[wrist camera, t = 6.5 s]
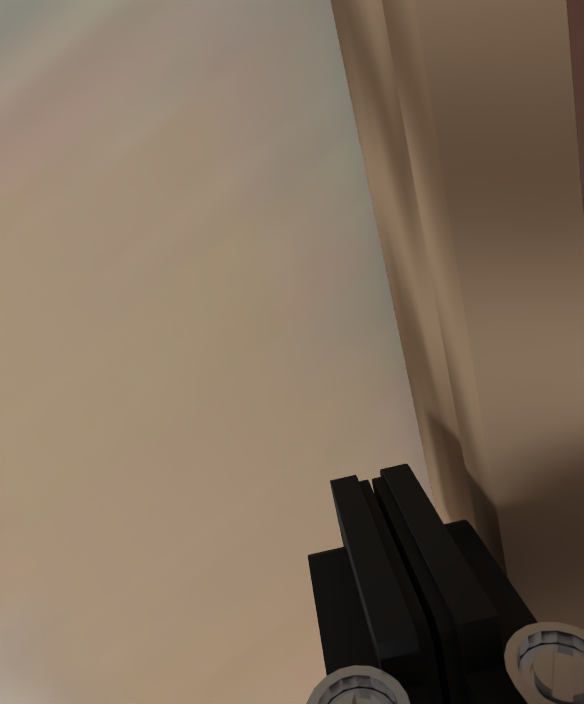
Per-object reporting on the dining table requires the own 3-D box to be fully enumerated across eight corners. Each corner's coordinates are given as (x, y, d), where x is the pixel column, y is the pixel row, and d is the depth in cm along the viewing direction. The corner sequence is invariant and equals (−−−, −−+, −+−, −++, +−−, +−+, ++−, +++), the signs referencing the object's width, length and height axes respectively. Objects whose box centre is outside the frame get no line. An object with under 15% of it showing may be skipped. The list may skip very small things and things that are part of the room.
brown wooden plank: (302, -54, 11) (381, -390, 4) (386, -77, 11) (579, -445, 4) (453, 648, 17) (575, 914, 10) (507, 633, 17) (659, 889, 10)
